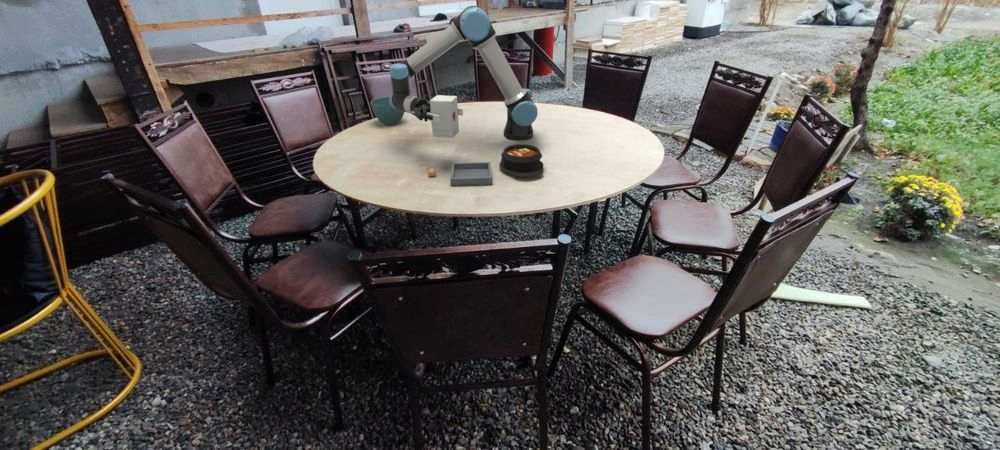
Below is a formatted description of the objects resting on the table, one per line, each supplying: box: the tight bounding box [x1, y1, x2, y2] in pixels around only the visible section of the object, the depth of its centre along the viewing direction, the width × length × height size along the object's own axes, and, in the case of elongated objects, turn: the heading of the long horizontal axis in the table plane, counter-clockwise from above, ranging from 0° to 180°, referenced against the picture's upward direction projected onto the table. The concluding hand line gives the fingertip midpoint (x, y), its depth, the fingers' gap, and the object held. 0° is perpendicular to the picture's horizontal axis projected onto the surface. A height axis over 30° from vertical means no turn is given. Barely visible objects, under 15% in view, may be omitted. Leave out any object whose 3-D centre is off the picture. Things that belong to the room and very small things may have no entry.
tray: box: [450, 161, 493, 187], centre depth 169 cm, size 16×16×3 cm
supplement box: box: [429, 94, 460, 139], centre depth 171 cm, size 9×9×15 cm
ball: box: [427, 168, 437, 177], centre depth 170 cm, size 3×3×3 cm
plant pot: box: [370, 96, 405, 126], centre depth 228 cm, size 18×18×12 cm
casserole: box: [499, 143, 544, 178], centre depth 175 cm, size 25×19×8 cm
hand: (451, 115), depth 168 cm, fingers closed on supplement box, 12 cm apart
